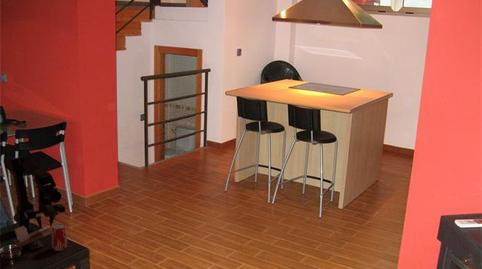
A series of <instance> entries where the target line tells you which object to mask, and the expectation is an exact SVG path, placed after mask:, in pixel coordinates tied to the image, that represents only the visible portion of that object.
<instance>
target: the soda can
mask: <svg viewBox="0 0 482 269" xmlns="http://www.w3.org/2000/svg"><path fill="white" fill-rule="evenodd" d="M51 228H52V233H51V246H52V250H53V251H55V252H57V251H58V252H62V251H64V250H65V249H67V248H68V233H67V227H66V224H63V223H57V224H54V225H52V227H51Z"/></svg>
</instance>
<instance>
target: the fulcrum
mask: <svg viewBox="0 0 482 269" xmlns="http://www.w3.org/2000/svg"><path fill="white" fill-rule="evenodd" d="M26 245H27V246H28V247H29V249H30V250H35V249H40V248H43V247H44V246H45V245H44V244H43V242H42V241H41V240H40V239H37V240H35V241H33V242H30V243H28V244H26Z"/></svg>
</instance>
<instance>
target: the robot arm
mask: <svg viewBox="0 0 482 269" xmlns="http://www.w3.org/2000/svg"><path fill="white" fill-rule="evenodd" d="M6 167H7V168H8V172H9V173H10V174H11V175H12V177H13V182H14V186H15V192H16V198H17V201H18V203H17V205H16V209H15V210H16V212H15V214H14V216H12V217H13V221H14V222H16V223H18V224H17V226H18V227H17V228H19V227H21V226H24V227H25V228H26V229H27V232H28V233H29V232H33V229H32V228H31V222H30V220H33V219H34V220H36V221H37V224H38V226H39V228H40V229H43V228H42V216H41V215H42V214H43V215H44V217H45V218H48V217H49V220H48V222H49V226H50V227H53V223H54V220H55V218H56V216H58V215H59V213H60V214H61V213H65V212H66V207H65V206H64V205H63V204H62V203H59V202H60V201H61V199H62V194H61V192H60V191H58V188H56V187H57V185H56V182H55V180H54V178H53V177H54V176H53V175H52V174H51V173H50V172H48V171H47V170H44V169H41V168H40V167H39V166H38V164H36V163H35V162H34V161H33V160H32V159H31V157H30V156H29V155H23V156H22V155H21V156H18V157H14V158H10V159H8V161H7V162H6ZM25 171H27V172H28V173H29V174H30V175H31V176H32V177H33V181H34V183H35V185H36V186H35V189H37V194H38V195H37V197H38V198H37V202H38V208H37V209H38V210H35V209H34V204H33V203H31V202H30V201H29V198H28V192H27V187H26V182H25V175H24V173H25ZM53 203H54V204H53Z"/></svg>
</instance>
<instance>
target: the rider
mask: <svg viewBox="0 0 482 269" xmlns="http://www.w3.org/2000/svg"><path fill="white" fill-rule="evenodd" d="M13 231H14V233H15V235H16V238H17V239H18V241H19V242H20V243H22V242H24V241H27V240H29V239H30V238H29V232H27V229H26V228H25V227H24V226H21V227H19V228H18V227H17V228H15V229H14V230H13ZM17 239H16V240H17Z"/></svg>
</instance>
